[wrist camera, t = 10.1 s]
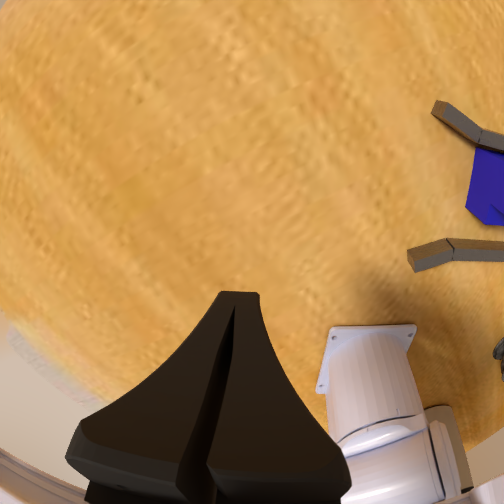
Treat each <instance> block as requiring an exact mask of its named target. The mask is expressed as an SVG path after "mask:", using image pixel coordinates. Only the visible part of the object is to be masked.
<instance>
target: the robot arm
mask: <svg viewBox="0 0 504 504" xmlns="http://www.w3.org/2000/svg"><path fill="white" fill-rule="evenodd" d="M416 331H417V327H416V325H415V324H407V325H383V326H336V327H332V328H331V329H330V331H329V335H328V339H327V344H326V348H325V352H324V356H323V361H322V365H321V369H320V373H319V377H318V381H317V385H316V388H315V390H316V393H318V394H325V395H326V406H327V417H328V429H329V435H328V434H327V433H326V432H325V430H324V429H323V428H322V427H321V426H320V424H319V423H318V422H317V421H316V419H315V418H314V417H313V416H312V414H311V413H310V411H309V410H308V409H307V407H306V406H305V404H304V403H303V401H302V400H301V398H300V397H299V396H298V394H297V393H296V391H295V389H294V388H293V386H292V384H291V383H290V381H289V379H288V378H287V376H286V374H285V372H284V370H283V368H282V366H281V364H280V362H279V360H278V358H277V356H276V354H275V351H274V349H273V347H272V344H271V342H270V339H269V336H268V333H267V330H266V327H265V324H264V321H263V317H262V313H261V308H260V295H259V294H258V293H257V292H236V291H221V292H219V293H218V295H217V297H216V298H215V300H214V302H213V303H212V305H211V306H210V308H209V309H208V311H207V312H206V314H205V315H204V316H203V318H202V319H201V320H200V322H199V323H198V324H197V326H196V327H195V328H194V330H193V331H192V332H191V333H190V335H189V336H188V337H187V338H186V339H185V340H184V342H183V343H182V344H181V345H180V346H179V347H178V349H177V350H176V351H175V352H174V353H173V354H172V355H171V356H170V357H169V358H168V359H167V360H166V361H165V362H164V363H163V364H162V365H161V366H160V367H159V368H158V369H156V370H155V371H154V372H153V373H152V374H151V375H149V376H148V377H147V378H146V379H145V380H144V381H142V382H141V383H140V384H139V385H137V386H136V387H135V388H133V389H132V390H130V391H129V392H127V393H126V394H125V395H123V396H122V397H120V398H119V399H117V400H116V401H114V402H113V403H111V404H110V405H108V406H106V407H104V408H103V409H101V410H99V411H97V412H95V413H94V414H92V415H90V416H88V417H86V418H84V419H82V420H81V421H80V423H79V425H78V426H77V428H76V430H75V432H74V435H73V437H72V439H71V442H70V445H69V447H68V450H67V452H66V455H65V459H66V460H67V462H68V464H69V465H70V466H72V467H73V468H74V469H75V470H76V471H78V472H79V473H80V474H82V475H83V476H84V477H86V478H87V479H89V480H90V482H89V485H88V488H87V490H84V489H82V488H79V487H77V486H74V485H72V484H69V483H67V482H65V481H62V480H60V479H58V478H56V477H54V476H51V475H49V474H47V473H45V472H43V471H41V470H39V469H37V468H35V467H33V466H31V465H29V464H27V463H25V462H24V461H22V460H20V459H18V458H17V457H15V456H13V455H11V454H10V453H8V452H6V451H5V450H3V449H1V448H0V504H504V473H503V474H501V475H499V476H497V477H494V478H492V479H490V480H488V481H486V482H483V483H482V484H480V485H478V486H476V487H475V488H473V489H472V490H471V491H469V492H467V493H464V494H461V489H460V487H461V482H460V477H459V472H458V468H457V464H456V460H455V456H454V452H453V448H452V445H451V441H450V438H449V434H448V431H447V428H446V425H445V424H443V423H441V422H440V423H439V422H438V421H437V420H435V421H433V422H431V423H430V425H429V423H428V421H427V419H426V416H425V413H424V409H423V406H422V402H421V399H420V396H419V392H418V389H417V386H416V383H415V380H414V377H413V374H412V370H411V367H410V365H409V362H408V359H407V356H406V353H407V351H408V349H409V347H410V345H411V342H412V340H413V338H414V336H415V334H416ZM333 336H335V337H333Z"/></svg>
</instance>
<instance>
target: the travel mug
mask: <svg viewBox="0 0 504 504" xmlns="http://www.w3.org/2000/svg"><path fill="white" fill-rule="evenodd" d="M424 413H425V416H426V419H427V421H428V423H429V425H430V423H431V422H433V421H435V420H437V421H438V422H439V423H440V422H441V423H443V424H445V425H446V428H447V431H448V434H449V438H450V441H451V445H452V448H453V452H454V456H455V460H456V464H457V468H458V472H459V477H460V482H461V487H460V489H461V494H464V493H467V492H469V491H471V490H472V489H473V488H474V486H473V482H472V477H471V473H470V469H469V465H468V462H467V458H466V454H465V450H464V447H463V443H462V440H461V436H460V433H459V430H458V426H457V423H456V420H455V417H454V414H453V411H452V408H451V407H450V406H434V407H431V408H428V409H425V410H424Z"/></svg>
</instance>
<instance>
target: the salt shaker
mask: <svg viewBox="0 0 504 504" xmlns="http://www.w3.org/2000/svg"><path fill="white" fill-rule="evenodd" d="M493 357H494V358H495V359H497V360H501V359H502V362H501V373H502V380H503V382H504V337H503V338H502V339H501V341H500V342H499V343H498V344H497V346H496V347H495V349H494V352H493Z"/></svg>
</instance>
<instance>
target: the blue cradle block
mask: <svg viewBox="0 0 504 504" xmlns="http://www.w3.org/2000/svg"><path fill="white" fill-rule="evenodd" d="M465 207H466V208H467V209H468V210H469V211H470V212H472V213H473V214H474V215H475V216H476V217H477V218H478V219H479V220H480V221H482V222H483V223H484V224H485V225H500V226H504V153H501V152H497V151H493V150H488V149H484V148H479V147H476V150H475V157H474V163H473V170H472V175H471V181H470V186H469V191H468V196H467V201H466V206H465Z"/></svg>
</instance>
